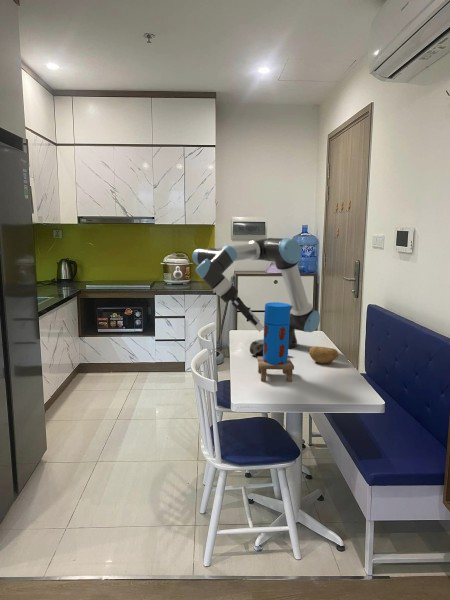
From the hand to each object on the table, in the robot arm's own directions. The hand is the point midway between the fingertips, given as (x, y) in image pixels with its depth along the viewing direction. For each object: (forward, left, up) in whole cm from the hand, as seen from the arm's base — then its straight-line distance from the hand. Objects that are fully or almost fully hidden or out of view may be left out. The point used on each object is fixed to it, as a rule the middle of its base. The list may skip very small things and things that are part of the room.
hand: (259, 326), depth 186 cm
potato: (-21, +34, -23) cm, 46 cm away
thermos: (0, +7, -16) cm, 17 cm away
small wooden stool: (0, +7, -23) cm, 24 cm away
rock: (-32, +9, -23) cm, 41 cm away
